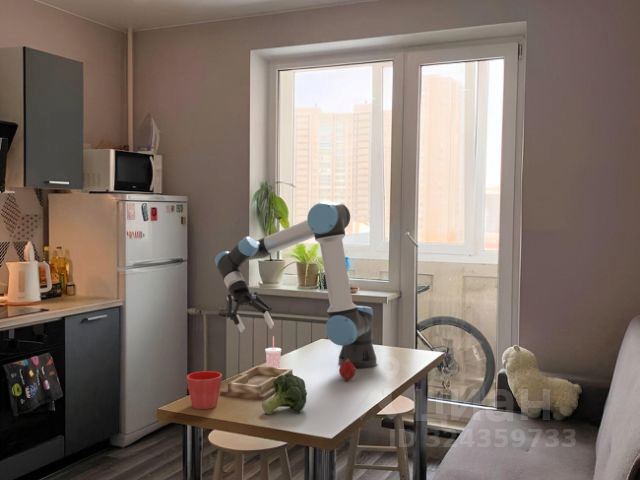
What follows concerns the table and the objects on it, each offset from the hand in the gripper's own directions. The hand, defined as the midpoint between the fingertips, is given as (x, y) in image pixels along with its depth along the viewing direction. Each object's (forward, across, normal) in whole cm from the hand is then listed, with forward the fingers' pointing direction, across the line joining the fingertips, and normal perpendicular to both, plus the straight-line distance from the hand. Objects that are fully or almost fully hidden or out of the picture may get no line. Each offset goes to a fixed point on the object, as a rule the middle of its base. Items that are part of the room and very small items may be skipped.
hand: (257, 328), depth 254 cm
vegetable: (+46, +23, +24) cm, 56 cm away
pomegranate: (+36, -15, +14) cm, 41 cm away
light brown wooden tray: (+26, +15, +5) cm, 31 cm away
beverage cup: (+18, 0, -4) cm, 18 cm away
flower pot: (+31, +40, +9) cm, 51 cm away
